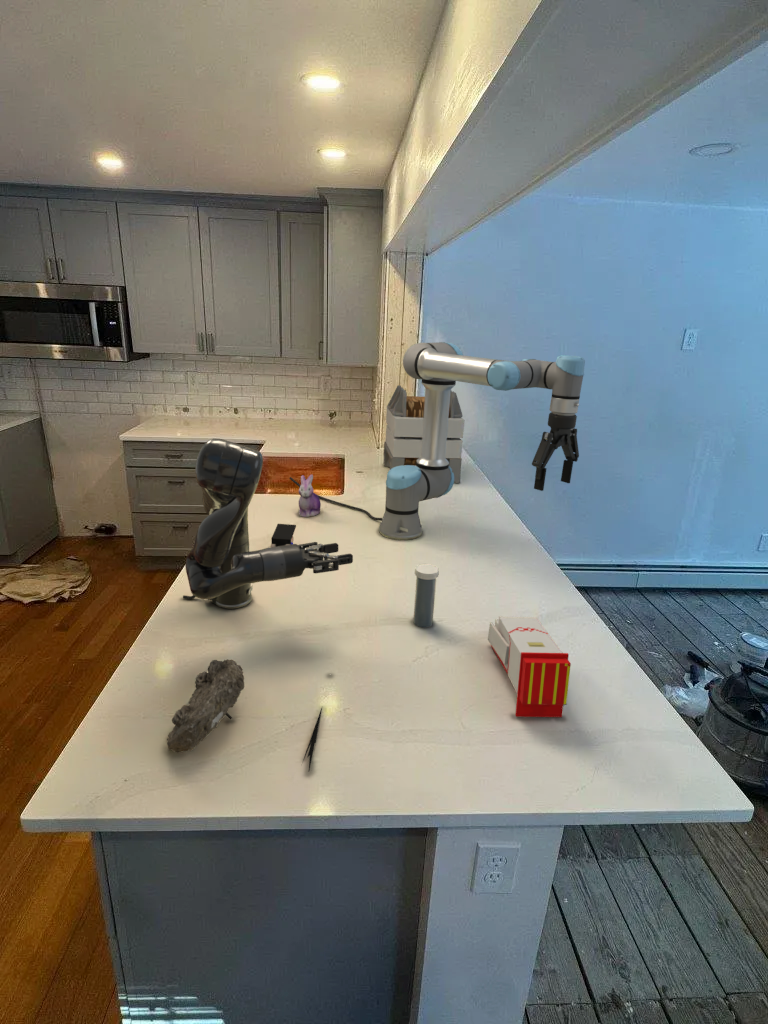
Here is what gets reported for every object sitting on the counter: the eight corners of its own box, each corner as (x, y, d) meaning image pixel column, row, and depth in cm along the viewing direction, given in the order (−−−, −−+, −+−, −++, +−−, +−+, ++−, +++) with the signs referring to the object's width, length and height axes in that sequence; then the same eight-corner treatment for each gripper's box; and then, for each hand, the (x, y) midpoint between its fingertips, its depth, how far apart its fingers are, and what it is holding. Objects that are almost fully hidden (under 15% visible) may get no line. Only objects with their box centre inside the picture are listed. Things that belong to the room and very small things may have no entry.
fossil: (192, 660, 117) (244, 628, 112) (224, 691, 120) (276, 661, 115) (142, 746, 98) (202, 712, 93) (182, 779, 101) (242, 748, 96)
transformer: (382, 463, 289) (386, 382, 275) (445, 464, 293) (451, 384, 279) (390, 482, 257) (394, 392, 243) (460, 483, 261) (468, 394, 247)
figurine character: (291, 566, 174) (297, 542, 188) (290, 545, 171) (296, 522, 184) (269, 566, 174) (276, 541, 187) (268, 544, 171) (275, 521, 184)
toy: (534, 602, 136) (579, 659, 107) (529, 653, 139) (572, 723, 110) (484, 601, 136) (516, 658, 107) (480, 652, 139) (510, 722, 109)
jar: (409, 620, 145) (412, 568, 140) (424, 615, 147) (428, 564, 142) (421, 629, 141) (425, 576, 136) (436, 624, 144) (441, 572, 139)
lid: (409, 572, 140) (410, 566, 140) (428, 567, 143) (429, 561, 143) (424, 581, 136) (424, 575, 135) (443, 576, 139) (443, 570, 138)
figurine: (302, 519, 209) (301, 480, 204) (293, 510, 217) (292, 472, 212) (325, 516, 213) (326, 477, 208) (316, 507, 222) (316, 470, 217)
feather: (331, 679, 122) (336, 673, 122) (307, 777, 96) (313, 769, 95) (324, 675, 122) (329, 669, 121) (298, 772, 95) (304, 764, 95)
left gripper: (288, 557, 121) (357, 546, 129) (269, 538, 134) (333, 529, 141) (290, 589, 123) (357, 577, 131) (270, 568, 136) (333, 558, 143)
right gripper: (548, 419, 148) (537, 496, 155) (598, 411, 163) (586, 482, 171) (525, 414, 153) (515, 489, 160) (575, 407, 169) (564, 476, 176)
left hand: (344, 552), depth 136 cm, fingers open, 8 cm apart
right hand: (552, 485), depth 166 cm, fingers open, 13 cm apart
